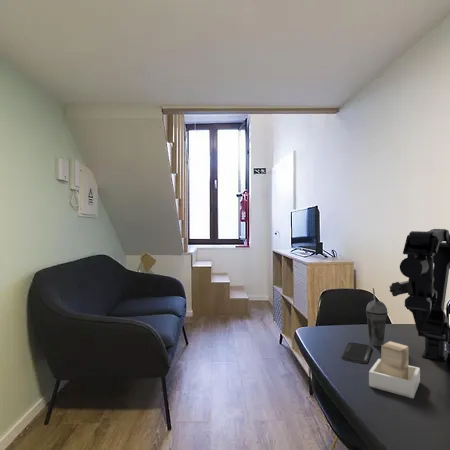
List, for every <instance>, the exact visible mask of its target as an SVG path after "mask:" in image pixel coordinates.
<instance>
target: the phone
mask: <svg viewBox="0 0 450 450" xmlns="http://www.w3.org/2000/svg"><path fill="white" fill-rule="evenodd" d="M372 351H373V345H371V344H370V345H369V344H365V343H364V344H363V343H357V342H348V343H347V345H346V347H345V348H344V350H343V352H342V354H341V358H340V359H341V360H344V361H348V362H354V363H359V364H368V361H369V359H370V356H371V353H372Z"/></svg>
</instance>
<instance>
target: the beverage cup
mask: <svg viewBox="0 0 450 450" xmlns="http://www.w3.org/2000/svg"><path fill="white" fill-rule="evenodd" d="M372 293H373V300H371V301H369V302H368V303H367V305H366V309H365V315H366V319H367V329H368V331H367V332H368V333H367V334H368V340H369V344H370V346H376V347H381V345H383V344H384V341H385V333H386V323H387V317H388V308H387V306H386V304H385V303H384V302H382V301H381V300H379V299H376V295H375V294H376V293H375V288H374V287H372Z"/></svg>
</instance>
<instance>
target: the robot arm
mask: <svg viewBox="0 0 450 450" xmlns="http://www.w3.org/2000/svg"><path fill="white" fill-rule="evenodd" d="M402 255H406V256H407V257H404V259H403V260H401V262H400V264H399V271H400V273H401V274H402V275H403V276H404V277H406V278H408V280H405V281H401V282H399V281H396V282H392V283H391V284H390V285H389V292H390V293H391V295H392V297H397V296H399V295H404V294H408V295H407V297H406V298H405V299H404V307H405V308H406V309H407V310H409V312H411V314H412V316H413V317H412V318H413V320H414V324H415V328H416V331H417V336H418V337H422V338H424V348H423V352H422V353H421V354H422V355H421V357H422V358H426V359H430V360H431V359H432V360H435V361H441V362H446V361H447V358H448V354H447V353H446V343H449V342H450V323H449V318H448V316H447V314H446V312H445V311H444V310H445V302H446V296H447V289H448V288H447V287H448V281H449V274H450V230H449V229H446V228H432V229H430V230H427V231H420V230H419V231H418V230H417V231H416V230H414V231H413V230H411V231H409V233H408V234H407V236H406V239H405V243H404V247H403V251H402Z"/></svg>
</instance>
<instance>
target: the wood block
mask: <svg viewBox="0 0 450 450" xmlns="http://www.w3.org/2000/svg"><path fill="white" fill-rule="evenodd" d="M380 347H381V348H380V349H381V351H380V353H381V354H380V355H381V357H380V359H381V373H382V374H386V375H390V376H394V377H398V378H402V379H406V380H408V365H409V346H408V345H405V344H402V343H398V342H394V341H392V340H389V341H388V342H386V343H383V345H381V346H380Z"/></svg>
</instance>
